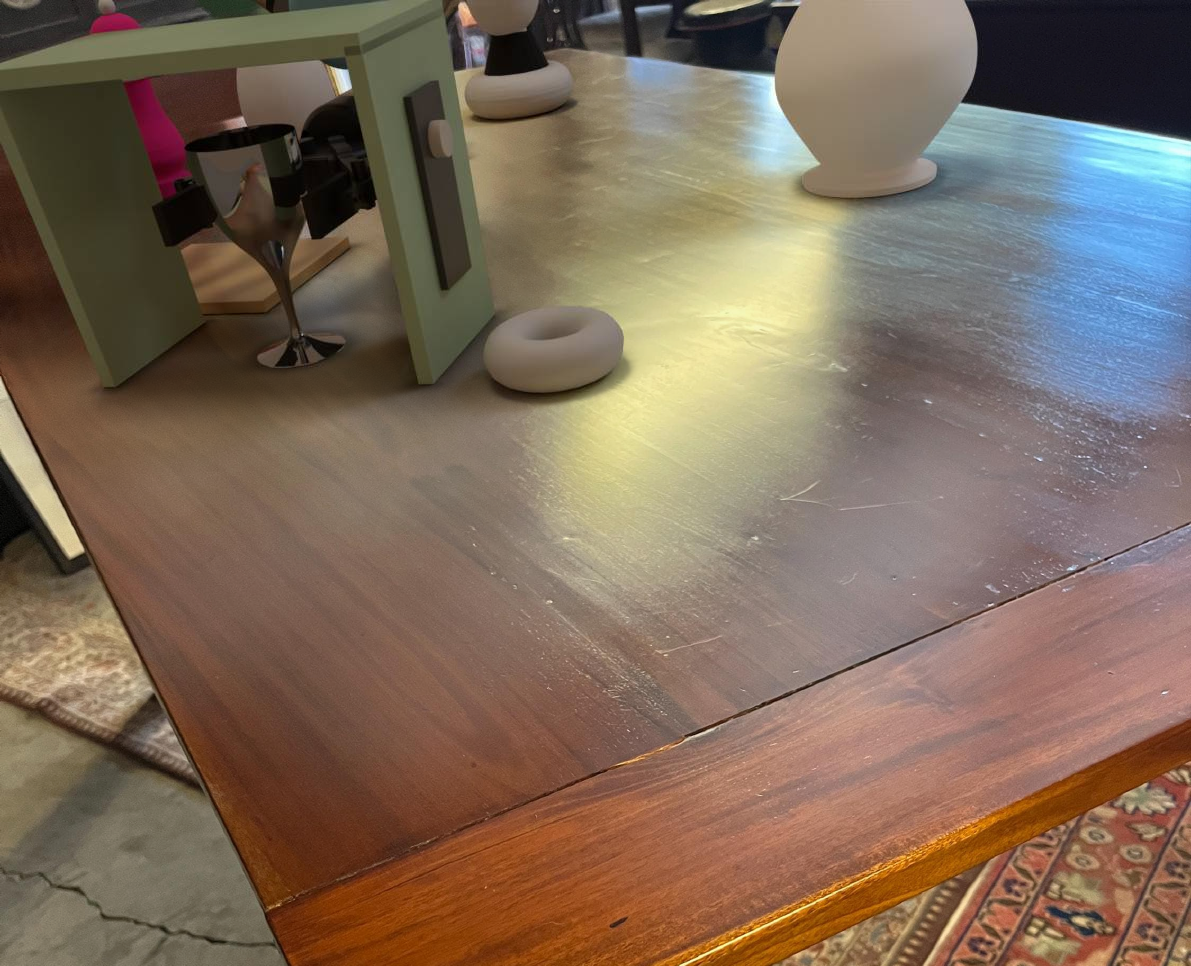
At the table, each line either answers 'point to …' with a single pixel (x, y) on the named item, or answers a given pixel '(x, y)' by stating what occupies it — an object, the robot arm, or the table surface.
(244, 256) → the cutting board
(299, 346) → the wine glass
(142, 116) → the pepper mill
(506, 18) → the decorative figurine
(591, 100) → the table surface
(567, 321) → the donut
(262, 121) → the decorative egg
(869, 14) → the decorative vase
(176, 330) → the cubby
